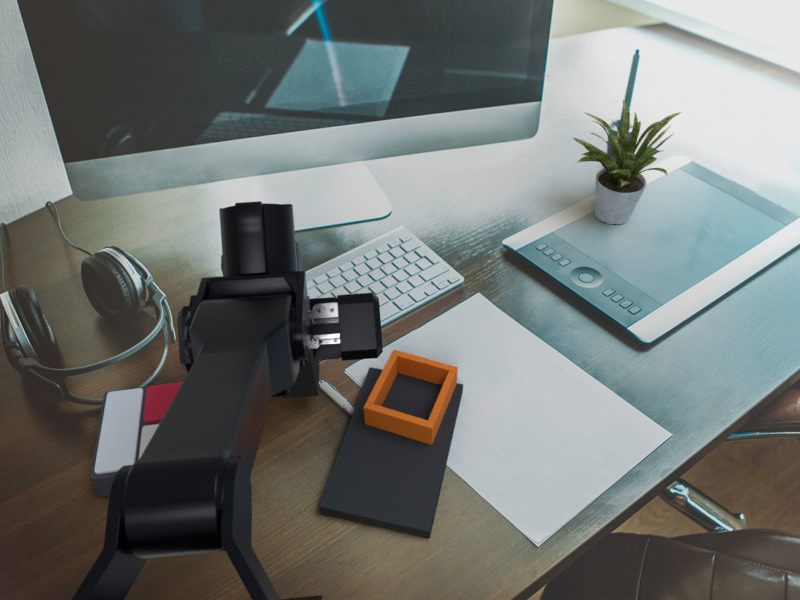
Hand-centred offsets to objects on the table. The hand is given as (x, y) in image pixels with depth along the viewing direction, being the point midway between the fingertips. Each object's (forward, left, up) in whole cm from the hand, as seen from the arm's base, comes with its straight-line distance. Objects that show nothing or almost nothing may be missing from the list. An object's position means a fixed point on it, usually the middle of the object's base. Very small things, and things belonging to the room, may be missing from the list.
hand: (292, 330), depth 70 cm
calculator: (-11, +10, -9) cm, 17 cm away
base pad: (-6, -13, -9) cm, 17 cm away
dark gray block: (-1, -1, -7) cm, 7 cm away
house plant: (+42, -35, -9) cm, 55 cm away
